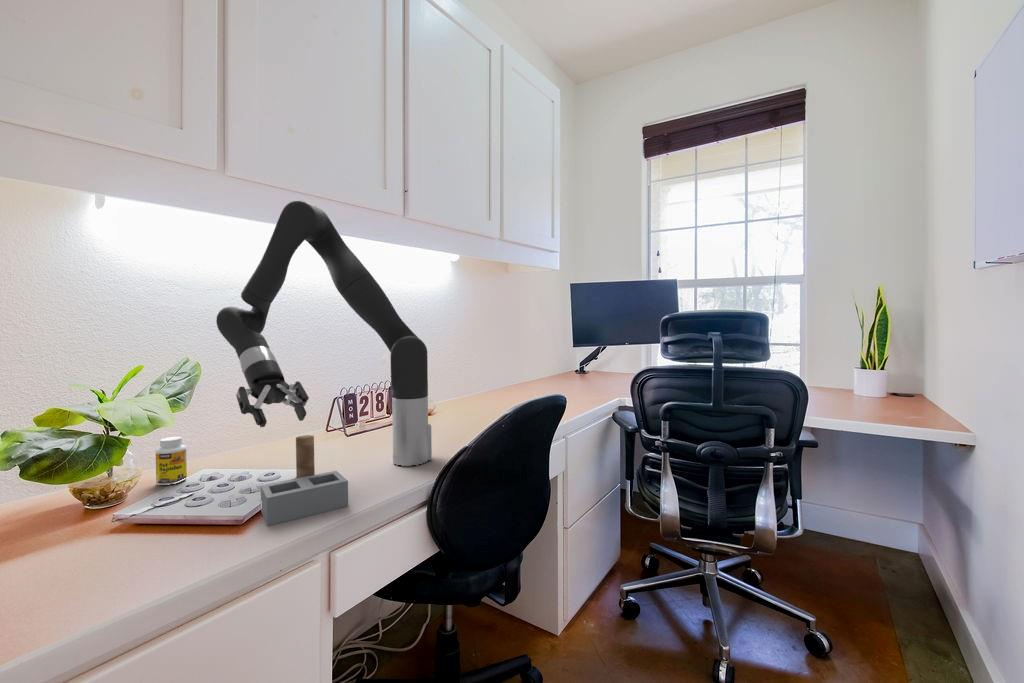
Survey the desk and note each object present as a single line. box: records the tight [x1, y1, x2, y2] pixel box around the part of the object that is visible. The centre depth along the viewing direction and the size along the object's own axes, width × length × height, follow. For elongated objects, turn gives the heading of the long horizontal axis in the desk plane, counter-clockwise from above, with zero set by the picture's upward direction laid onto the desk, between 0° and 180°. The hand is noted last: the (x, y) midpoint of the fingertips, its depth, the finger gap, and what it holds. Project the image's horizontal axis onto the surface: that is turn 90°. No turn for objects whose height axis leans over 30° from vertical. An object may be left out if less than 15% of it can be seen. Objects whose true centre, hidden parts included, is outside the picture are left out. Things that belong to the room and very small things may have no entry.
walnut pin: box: [295, 434, 316, 478], centre depth 91 cm, size 4×4×12 cm
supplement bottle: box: [155, 436, 188, 486], centre depth 98 cm, size 6×6×10 cm
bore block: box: [260, 470, 349, 527], centre depth 83 cm, size 14×8×5 cm, turn 128°
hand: (284, 421), depth 97 cm, fingers open, 8 cm apart
